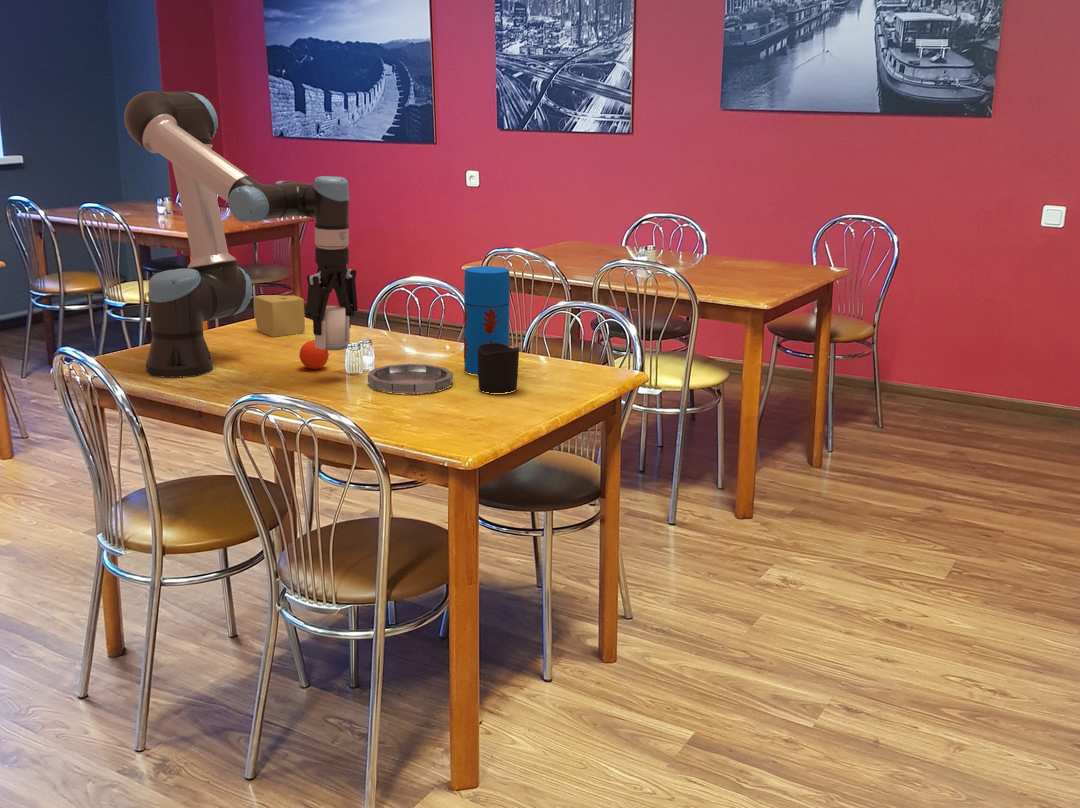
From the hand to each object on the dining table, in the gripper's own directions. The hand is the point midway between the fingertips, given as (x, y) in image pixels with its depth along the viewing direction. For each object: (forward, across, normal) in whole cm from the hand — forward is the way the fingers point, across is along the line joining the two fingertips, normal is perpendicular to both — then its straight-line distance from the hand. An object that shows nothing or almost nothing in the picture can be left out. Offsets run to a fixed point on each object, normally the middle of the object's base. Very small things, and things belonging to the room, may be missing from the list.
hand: (332, 345), depth 255 cm
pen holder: (+7, +16, -36) cm, 40 cm away
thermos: (+8, +28, -24) cm, 38 cm away
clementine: (+9, +5, +10) cm, 14 cm away
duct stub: (0, 0, 0) cm, 0 cm away
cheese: (+10, +29, +47) cm, 56 cm away
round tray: (+8, +8, -17) cm, 20 cm away
